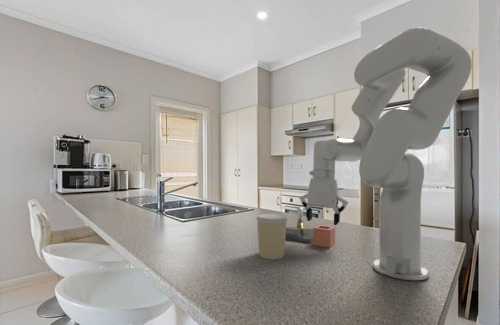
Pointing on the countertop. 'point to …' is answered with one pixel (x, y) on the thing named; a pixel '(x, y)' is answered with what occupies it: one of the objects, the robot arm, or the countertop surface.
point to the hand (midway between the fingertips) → (322, 222)
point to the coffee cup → (271, 235)
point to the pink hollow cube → (324, 236)
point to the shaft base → (302, 237)
